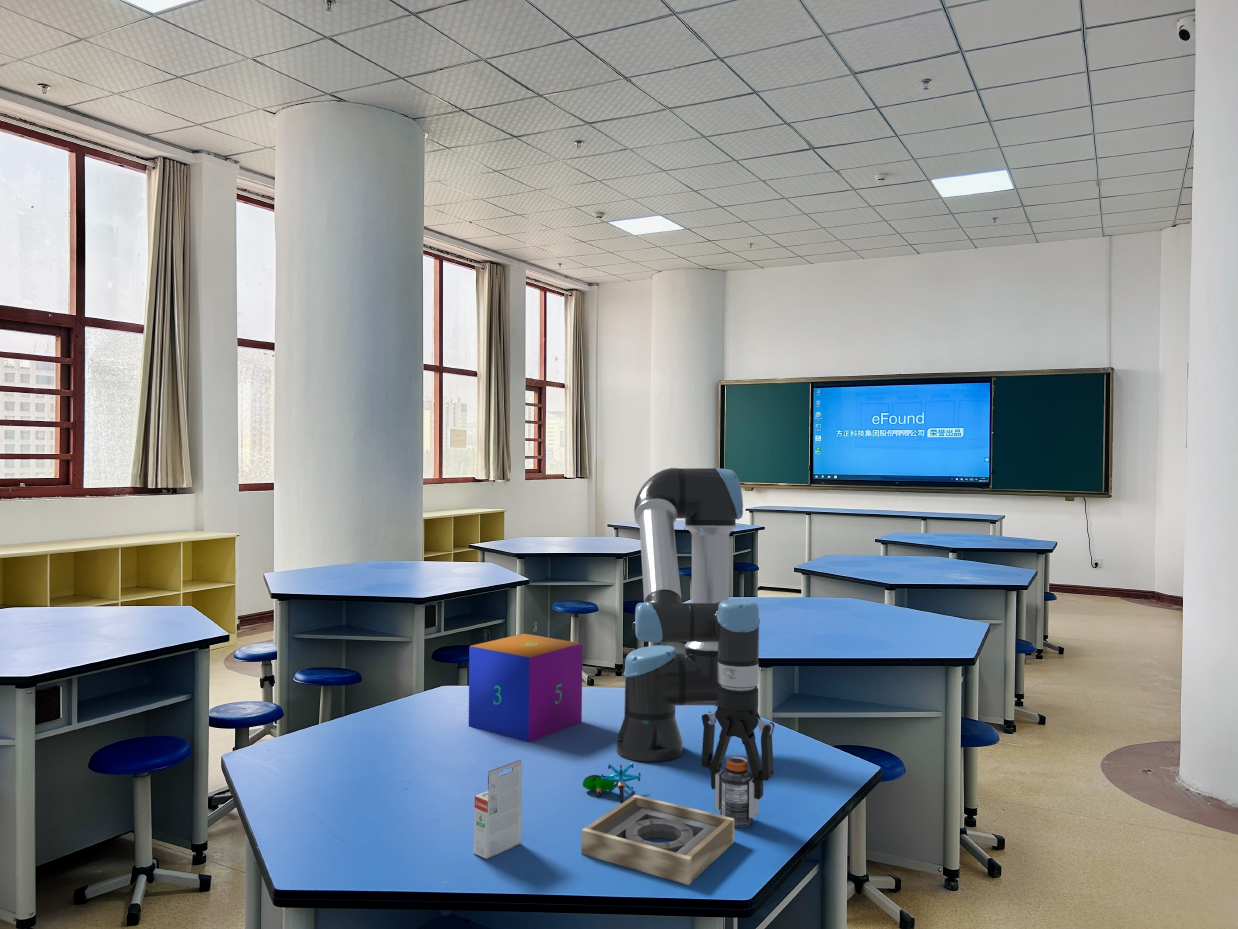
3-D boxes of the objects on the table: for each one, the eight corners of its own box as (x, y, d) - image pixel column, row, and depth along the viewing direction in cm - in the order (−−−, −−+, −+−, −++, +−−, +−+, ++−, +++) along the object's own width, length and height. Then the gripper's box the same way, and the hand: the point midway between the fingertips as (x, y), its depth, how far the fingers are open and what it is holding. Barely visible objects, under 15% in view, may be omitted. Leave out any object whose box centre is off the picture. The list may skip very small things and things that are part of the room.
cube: (523, 708, 227) (523, 633, 227) (581, 722, 215) (582, 643, 215) (468, 726, 211) (469, 646, 211) (528, 742, 199) (529, 657, 199)
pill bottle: (733, 812, 160) (734, 752, 160) (759, 821, 156) (760, 760, 156) (713, 821, 156) (714, 759, 156) (739, 831, 152) (740, 768, 152)
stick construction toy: (645, 777, 171) (634, 755, 167) (648, 808, 166) (636, 786, 161) (588, 791, 173) (576, 768, 169) (589, 822, 167) (576, 799, 163)
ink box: (472, 854, 142) (473, 766, 142) (507, 838, 148) (508, 754, 148) (487, 860, 140) (487, 772, 140) (522, 844, 146) (523, 759, 146)
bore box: (581, 853, 142) (581, 830, 142) (634, 816, 158) (634, 794, 158) (688, 885, 132) (688, 859, 132) (734, 841, 147) (734, 818, 147)
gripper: (682, 682, 158) (681, 807, 158) (779, 697, 148) (778, 830, 148) (699, 674, 164) (698, 793, 164) (794, 688, 154) (793, 815, 154)
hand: (736, 811), depth 156 cm, fingers closed on pill bottle, 6 cm apart
